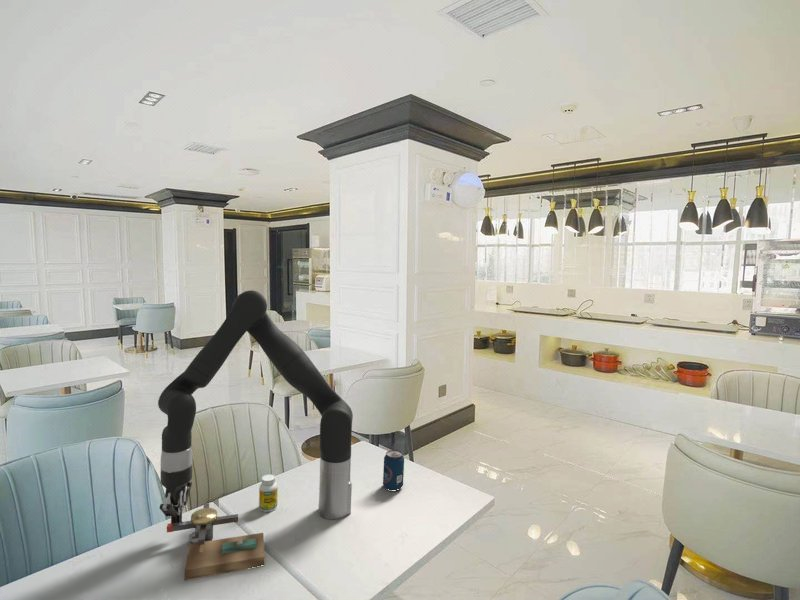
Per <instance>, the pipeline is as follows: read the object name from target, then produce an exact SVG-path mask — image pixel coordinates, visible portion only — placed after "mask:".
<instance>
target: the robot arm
mask: <svg viewBox="0 0 800 600" xmlns="http://www.w3.org/2000/svg"><path fill="white" fill-rule="evenodd" d="M267 309H268V304H267V299H266V298H265V296H264V295H263V294H262V293H261V292H259V291H257V290H244V291H243V292H241V293H240V294H238V295H237V297H236V298H235V299H234V301H233V304H232V306H231V310H230V311H229V313H228V315H227V316H226V317H225V319H224V320H223V322H222V324H221V325H220V327H219V328H218V329H217V331H216V332H215V333H214V334H213V335H212V336H211V338H210V339H209V340H208V342H206V344H205V345H204V346H203V348H201V350H199V352H198V353H197V354H196V356H195V357H194V358H193V359H192V361H191V362H190V363H189V365H188V366H187V367H186V369H185V370H184V371H183V372H182V373H181V374H179V375H178V376H176V378H175V379H173V380H172V382H169V384H168V385H167V386H166V387H165V388H164V389H163V390H162V391H161V393H160V395H159V397H158V400H157V406H158V409H159V410H160V411H161V412H162V413H163V414H165V415H166V416H167V425H166V426H165V427H164V428H163V430H162V433H161V454H160V485H161V486H162V487H164V488H165V493H164V498H165V501H164V503H160V504H159V510H160V511H161V512H162V513H163V515H164V516H165V517H170V523H179V522H183V511H184V510H185V509H184V506H187V504H188V499H189V496H190V493H191V488H192V485H193V482H192V479H193V450H192V430H193V426H194V423H195V418H196V412H197V403H196V400H195V397H194V396H193V394H194V393H195V392H196V391H197V390H198V389H203V388H206V387H207V386H208V385H209V384H210V383H211V381H212V380H213V379H214V377H215V376H216V375H217V374H218V372H219V370H220V369H221V368H222V366H223V365H224V364H225V362H226V361H227V359H228V357H229V356H230V354H231V353H232V351H233V350H234V348H235V347H236V345H237V344H238V343H239V341H240V340H241V338H243V336H244V335H245V334H246V333H248V334H249V335H250V336H251V337H252V338H253V339H254V340H255V341H256V342H257V343H258V345H259V347H260V348H261V350H262V351H263V353H264V354H265V355H266V357H267V358H268V359H269V360H270V362H271V364H273V366H274V367H275V369H276V370H277V371H278V372H279V374H280V375H281V376H282V378H283V379H284V381H286V382H287V383H288V384H289V385H290V386H291V387H292V388H294V389H295V390H297V391H299V393H301V394H303V396H305V397H306V398H307V399H308V400H309V401H310V402H311V403H312V404H313V405H314V407H315V408H316V409H317V411H318V412H319V414H320V415H321V418H320V422H319V423H320V424H319V451H320V452H319V453H320V455H319V456H320V459H319V460H320V461H319V487H318V488H319V489H318V491H319V492H318V515H320V516H321V517H323V518H324V519H328V520H337V519H342V518H344V517H345V516H347V515H350V514H352V512H351V511H352V489H353V484H352V481H351V468H352V467H351V465H352V463H351V460H352V430H353V419H354V418H353V411H352V408H351V407H350V406H349V404H348V403H347V402H346V401H345V400H344V398H342V397H341V396H340V394H338V393H337V392H336V391H335V390H334V389H333V388H332V387H331V386H330V384H328V382H327V381H326V379H325V378H324V376H323V375H322V373H321V372H320V371H319V370H318V368H317V367H316V366H315V364H314V363H313V362H312V360H311V358H310V357H309V356H308V355H307V354H306V353H305V351H304V350H303V349H302V348H301V346H300V345H299V344H297V342H295V341H294V340H293V339H292V338H290V337H289V336H288V335H287V334H285V333H284V332H283V331H282V330H281V329H279V327H278V326H277V325H276V324H275V323H274V321H273V320H272V318H271V317H270V316H269V314H268V313H267Z"/></svg>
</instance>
